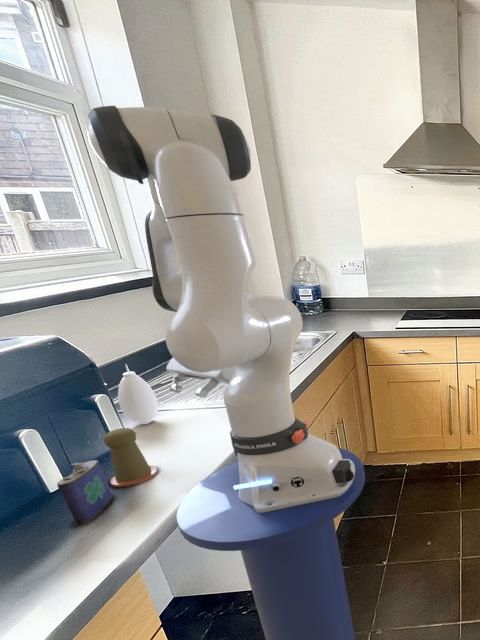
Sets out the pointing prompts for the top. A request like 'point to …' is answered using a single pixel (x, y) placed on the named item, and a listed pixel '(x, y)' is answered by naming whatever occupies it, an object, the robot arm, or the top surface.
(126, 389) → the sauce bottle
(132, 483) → the coaster
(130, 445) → the cork
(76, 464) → the flask
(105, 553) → the top surface
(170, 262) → the robot arm
